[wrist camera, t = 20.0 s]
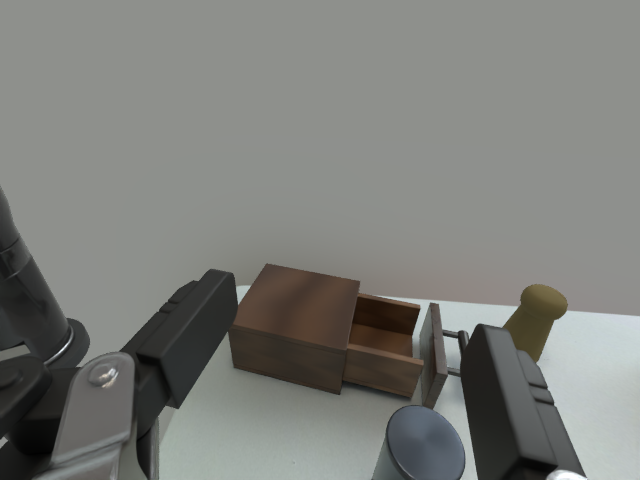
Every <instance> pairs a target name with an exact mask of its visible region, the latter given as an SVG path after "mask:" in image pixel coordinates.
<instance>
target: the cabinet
mask: <svg viewBox="0 0 640 480" xmlns="http://www.w3.org/2000/svg"><path fill="white" fill-rule="evenodd" d="M359 287H360V281H356V280H351V279H346V278H340V277H335V276H330V275H325V274H319V273H314V272H309V271H304V270H298V269H293V268H288V267H283V266H277V265H272V264H266V265H265V267H264V268H263V269H262V271H261V272H260V274H259V276H258V277H257V278H256V280H255V281H254V283H253V284H252V286H251V287H250V289H249V290H248V292H247V293H246V295H245V296H244V298H243V299H242V301H241V302H240V304H239V305H238V311H237V315H236V318H235V320H234V322H233V324H232V325H231V327H230V328H229V330H228V335H229V341H230V347H231V353H232V360H233V366H234V368H238V369H242V370H246V371H250V372H253V373H257V374H261V375H265V376H269V377H273V378H276V379H280V380H284V381H288V382H292V383H296V384H300V385H303V386H307V387H311V388H315V389H319V390H323V391H327V392H330V393H334V394H338V395H340V391H341V386H342V381H343V380H342V378H343V371H344V364H345V357H346V350H347V345H348V340H349V336H350V331H351V326H352V321H353V316H354V311H355V306H356V301H357V296H358V293H359Z"/></svg>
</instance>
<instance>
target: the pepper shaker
mask: <svg viewBox="0 0 640 480" xmlns="http://www.w3.org/2000/svg"><path fill="white" fill-rule="evenodd" d="M520 301H521V305H520V306H519V307H518V309H517V310H516V311H515V312H514V314H513V315H512V316H511V317H510V319H509V320H508V321H507V322H506V324H505V325H504V326H503V327H502V328H505V329H507V330H508V331H509V332H510V335H511V337H512V340H513V343H514V345H515V348H516V349H518V350H522V351H526V352H527V354H528V355H529V356H530V357H531V358H532V360H533V361H534V362H535V363H536V362H537V361H538V360H539V358H540V355H541V353H542V350H543V348H544V345H545V343H546V340H547V338H548V335H549V333H550V330H551V328H552V325H553V323H554V320H557V319H559V318H560V317H562V316H563V315H564V314H565V313H566V311H567V306H568V304H567V300H566V298H565V297H564V296H563V295H562V294H561V293H560V292H558V291H557V290H555V289H553V288H551V287H549V286H545V285H540V284H535V285H531V286H528V287H527V288H526V289H524V291H523V293H522V295H521V299H520Z"/></svg>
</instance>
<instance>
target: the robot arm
mask: <svg viewBox="0 0 640 480" xmlns="http://www.w3.org/2000/svg"><path fill="white" fill-rule="evenodd" d="M237 311H238V301H237V293H236V285H235V278H234V275H233V273H230V272H225V271H220V270H215V269H210V270H209V271H207V272H206V273H205V274H204V276H203V277H202V278H201V279H200V280H199V281H194V280H193V281H192V282H190V283H188V284H186V285H185V286H183V287H181V288H179V289H178V290H177V291H176V292H175V293H174V294H173V296H172V297H171V298H170V299H169V300H168V302H166V303H165V304H164V305H163V306H162V307H161V308H160V309H159V312H157V313H155V314H154V316H153V317H152V318H151V319H150V320H149V321H148V322H147V323H146V324H145V325H144V326H143V327H142V328H141V329H140V330H139V331H138V332H137V333H136V334H135V335H134V337H133V338H132V339H131V340H130V341H129V342H128V343H127V344H126V345H125V346H124V347H123V348H122V349H121V350H120V351H119V352H110V353H106V354H103V355H100V356H98V357H96V358H94V359H92V360H91V361H89V362H88V363H86V364H85V365H84V366H82V367H73V368H58V369H47V367H48V366H50V365H51V364H53V363H54V362H56V361H57V360H58V359H60V358H61V357H62V356H63V355H64V354H65V353H66V352H67V351H68V350H69V348H70V347H71V345H72V344H73V342H74V338H75V333H74V330H73V328H72V327H71V325H70V324H69V323H68V321H67V319H66V317H65V316H64V314H63V312H62V310H61V308H60V306H59V304H58V303H57V301H56V299H55V297H54V295H53V293H52V292H51V290H50V288H49V286H48V285H47V283H46V281H45V279H44V277H43V275H42V274H41V272H40V270H39V268H38V266H37V264H36V263H35V261H34V259H33V257H32V255H31V254H30V252H29V250H28V248H27V246H26V245H25V243H24V241H23V239H22V238H21V236H20V234H19V232H18V230H17V228H16V226H15V225H14V222H13V218H12V214H11V210H10V206H9V203H8V201H7V198H6V196H5V194H4V192H3V190H2V188H1V186H0V439H2V437H3V436H4V437H5V438H6V439H7V440H8V442H6V443H5V444H4V445H3V446H2V448H1V449H0V480H159V417H158V416H159V414H160V413H161V411H162V410H163V408H164V407H165V405H166V406H170V407H173V408H176V409H179V407H180V406H181V404H182V403H183V401H184V400H185V398H186V396H187V395H188V393H189V392H190V390H191V389H192V387H193V385H194V384H195V382H196V381H197V379H198V377H199V376H200V374H201V373H202V371H203V370H204V368H205V366H206V365H207V363H208V362H209V360H210V359H211V357H212V355H213V354H214V352H215V351H216V349H217V347H218V346H219V344H220V343H221V341H222V340H223V338H224V336H225V335H226V333H227V332H228V330H229V328H230V327H231V325H232V324H233V322H234V320H235V318H236V315H237ZM460 376H461V382H462V388H463V394H464V400H465V406H466V411H467V417H468V423H469V429H470V435H471V441H472V447H473V453H474V459H475V465H476V470H477V476H478V480H588V479H587V477H586V475H585V473H584V471H583V469H582V467H581V464H580V462H579V459H578V457H577V455H576V452H575V450H574V448H573V445H572V443H571V441H570V438H569V436H568V433H567V431H566V429H565V426H564V424H563V422H562V419H561V417H560V415H559V412H558V410H557V408H556V407H555V406H554V400H553V398H552V396H551V393H550V391H548V389H547V388H548V386H547V384H546V382H545V379H544V377H543V374H542V372H541V370H540V368H539V367H538V366H537V364H536V363H535V362H534V361H533V360H532V358H531V357H530V356H529V355H528V354H527V352H526V351H522V350H518V349H516V348H515V345H514V343H513V340H512V337H511V335H510V332H509V331H508V330H507V329H505V328H500V327H495V326H490V325H485V324H478V325H477V326H476V327H475V329H474V331H473V333H472V336H471V338H470V340H469V342H468V344H467V346H466V348H465V350H464V352H463V355H462V358H461V363H460Z"/></svg>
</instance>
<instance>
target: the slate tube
mask: <svg viewBox="0 0 640 480" xmlns="http://www.w3.org/2000/svg"><path fill="white" fill-rule="evenodd" d="M464 469H465V452H464V448H463V444H462V442H461V439H460V437H459V435H458V434H457V432H456V430H455V429H454V428H453V426H452V425H451V424H450V423H449V422H448V421H447V420H446V419H445V418H444V417H443V416H441V415H440V414H439V413H437V412H435V411H434V410H432V409H429V408H427V407H423V406H418V405H410V406H405V407H402V408H400V409H399V410H397V411H396V412H395V413H394V414H393V415H392V416H391V418H390V420H389V422H388V425H387V428H386V433H385V439H384V442H383V445H382V448H381V451H380V455H379V458H378V461H377V464H376V467H375V470H374V473H373V477H372V480H460V478H461V477H462V475H463V472H464Z"/></svg>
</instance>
